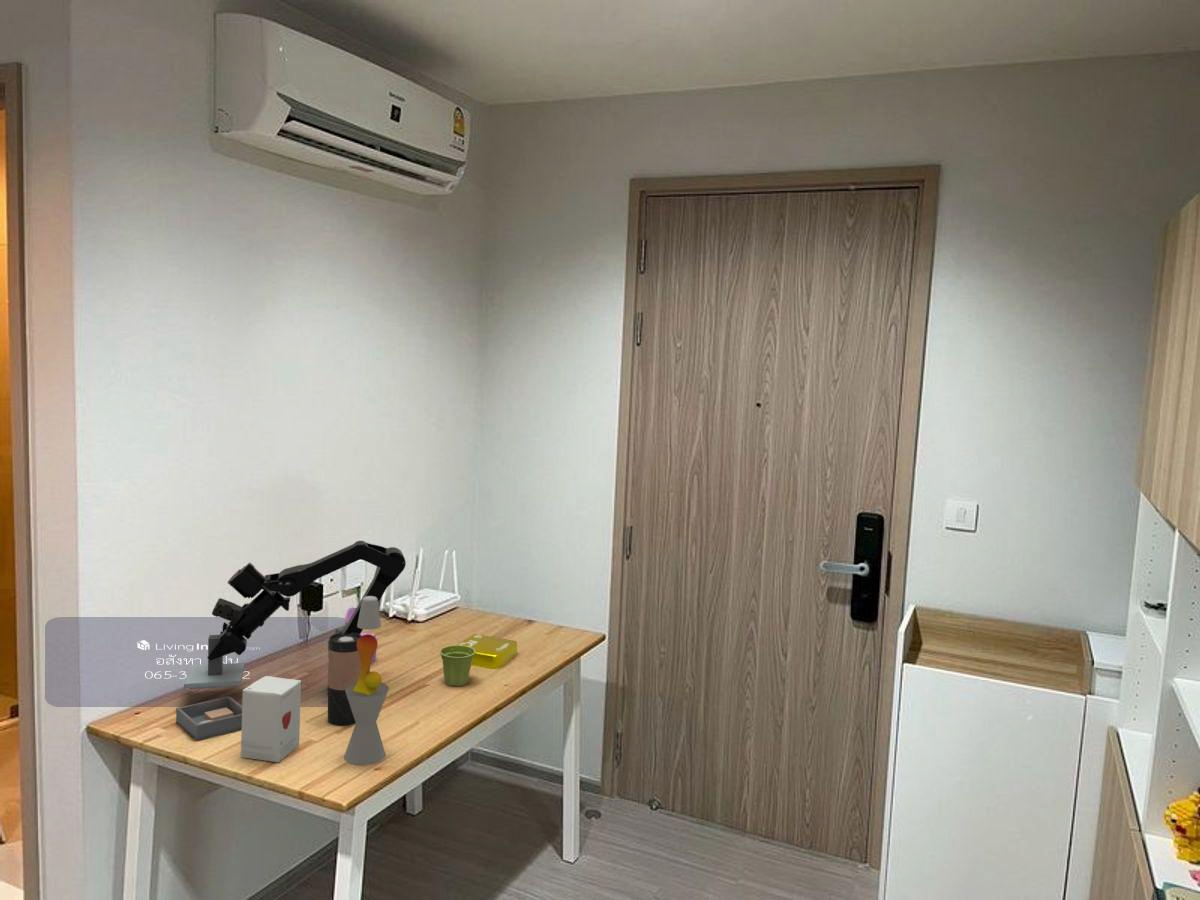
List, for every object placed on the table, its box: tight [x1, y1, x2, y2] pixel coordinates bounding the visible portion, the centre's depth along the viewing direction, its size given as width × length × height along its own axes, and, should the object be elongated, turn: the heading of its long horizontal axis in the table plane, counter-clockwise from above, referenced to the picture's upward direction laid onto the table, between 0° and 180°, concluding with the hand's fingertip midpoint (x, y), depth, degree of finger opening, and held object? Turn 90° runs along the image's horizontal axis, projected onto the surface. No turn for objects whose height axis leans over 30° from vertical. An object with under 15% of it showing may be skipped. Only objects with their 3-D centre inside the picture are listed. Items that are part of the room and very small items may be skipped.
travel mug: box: [327, 633, 362, 727], centre depth 209 cm, size 8×8×20 cm
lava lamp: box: [343, 596, 390, 766], centre depth 191 cm, size 9×9×35 cm
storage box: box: [175, 695, 242, 742], centre depth 203 cm, size 12×12×4 cm
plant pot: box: [439, 644, 476, 687], centre depth 237 cm, size 9×9×9 cm
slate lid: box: [183, 634, 246, 690], centre depth 216 cm, size 12×12×11 cm
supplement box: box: [240, 675, 302, 764], centre depth 191 cm, size 9×9×15 cm
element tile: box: [456, 633, 518, 670], centre depth 258 cm, size 15×15×5 cm
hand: (209, 656), depth 215 cm, fingers closed on slate lid, 3 cm apart
